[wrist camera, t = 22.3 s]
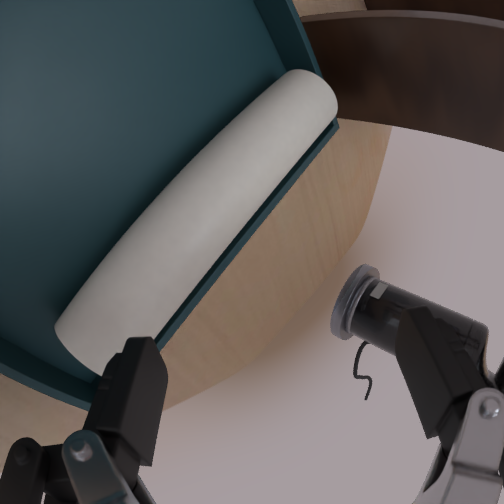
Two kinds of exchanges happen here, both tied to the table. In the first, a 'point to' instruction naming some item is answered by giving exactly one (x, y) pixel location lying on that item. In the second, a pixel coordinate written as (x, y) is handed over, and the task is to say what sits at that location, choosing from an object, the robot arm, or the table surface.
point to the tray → (116, 145)
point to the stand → (417, 65)
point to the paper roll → (194, 220)
